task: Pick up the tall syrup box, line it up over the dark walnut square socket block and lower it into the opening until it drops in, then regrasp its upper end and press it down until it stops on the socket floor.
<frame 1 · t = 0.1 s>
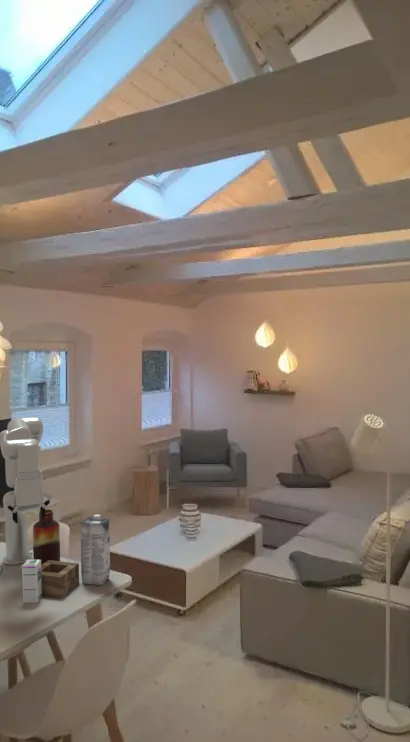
hand: (29, 520, 207), 31 cm above the table, tool pointing down, fingers open, 9 cm apart
vase: (47, 571, 236), on the table
juice carton: (95, 581, 225), on the table
syrup box: (32, 599, 209), on the table
socket block: (54, 587, 219), on the table
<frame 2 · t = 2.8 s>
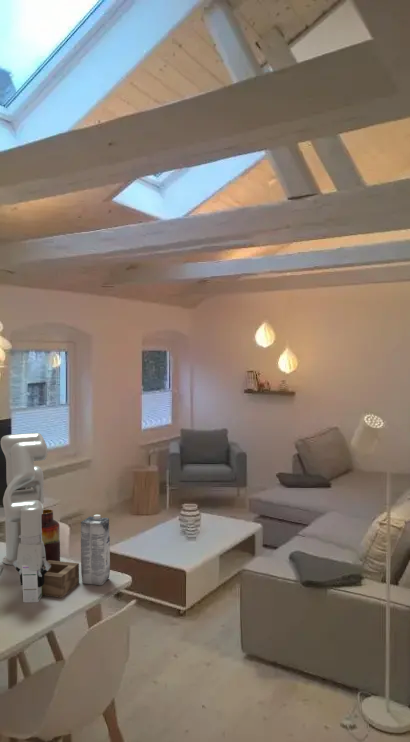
hand: (32, 584, 209), 6 cm above the table, tool pointing down, fingers closed on syrup box, 6 cm apart
syrup box: (32, 599, 209), on the table, touching gripper
everything else where it was.
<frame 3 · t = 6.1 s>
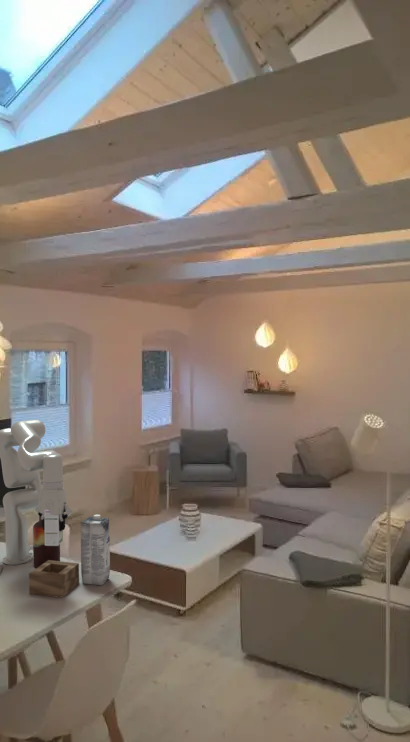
hand: (53, 529, 218), 24 cm above the table, tool pointing down, fingers closed on syrup box, 6 cm apart
syrup box: (53, 544, 218), point 18 cm above the table, touching gripper
everything else where it was.
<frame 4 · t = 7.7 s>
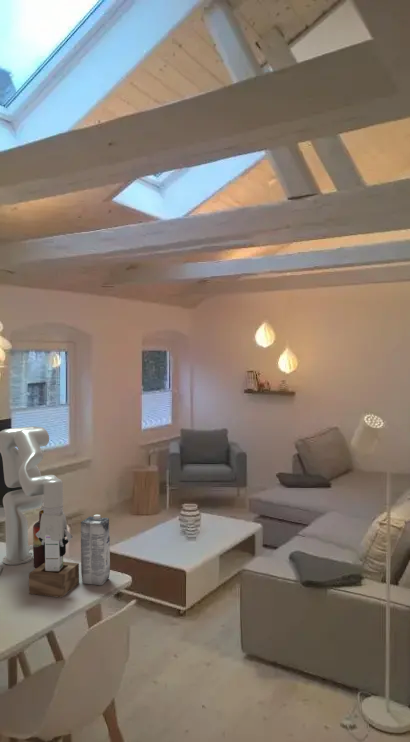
hand: (54, 554, 218), 14 cm above the table, tool pointing down, fingers closed on syrup box, 6 cm apart
syrup box: (54, 569, 218), point 8 cm above the table, touching gripper
everything else where it was.
when the fingers open (9 cm above the table, at t = 9.2 s): syrup box drops 2 cm, resting on socket block.
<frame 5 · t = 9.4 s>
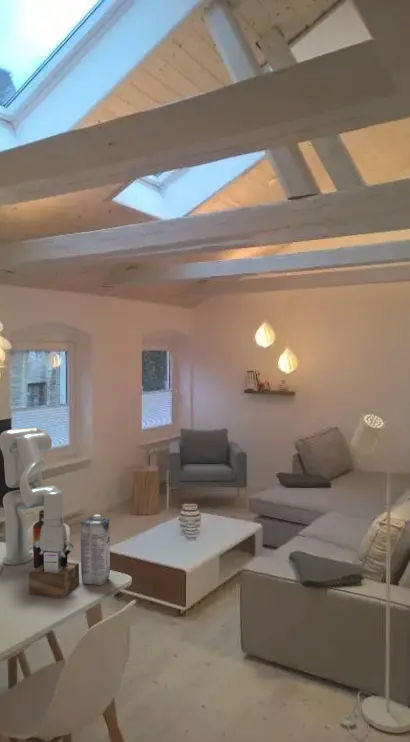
hand: (54, 564, 219), 10 cm above the table, tool pointing down, fingers open, 8 cm apart
syrup box: (54, 585, 219), point 1 cm above the table, touching socket block
everything else where it was.
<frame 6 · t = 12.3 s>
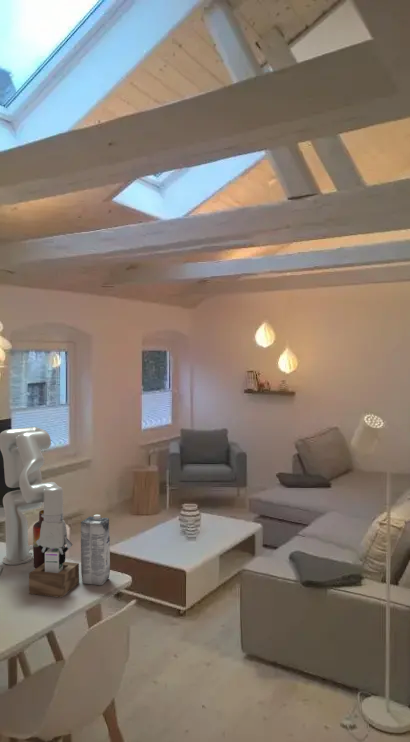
hand: (54, 561, 219), 11 cm above the table, tool pointing down, fingers closed on syrup box, 6 cm apart
syrup box: (54, 585, 219), point 1 cm above the table, touching gripper, socket block
everything else where it was.
when the fingers open (10 cm above the table, at t = 14.5 s): syrup box stays where it is, resting on socket block.
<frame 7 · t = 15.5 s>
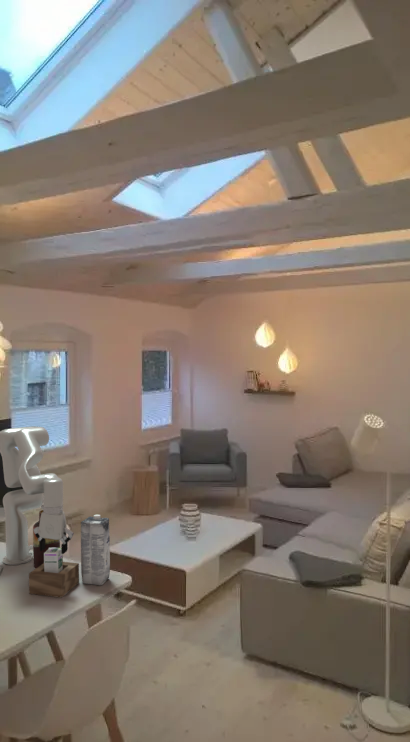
hand: (53, 551, 219), 15 cm above the table, tool pointing down, fingers open, 9 cm apart
syrup box: (54, 586, 219), point 1 cm above the table, touching socket block
everything else where it was.
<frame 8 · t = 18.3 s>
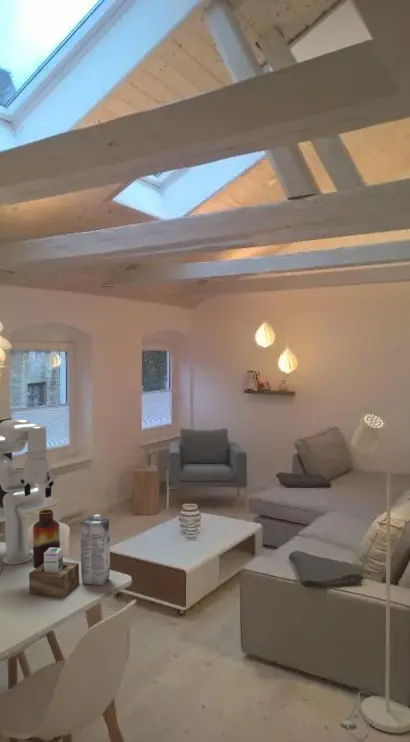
hand: (37, 495, 229), 34 cm above the table, tool pointing down, fingers open, 9 cm apart
nothing on the table moved.
at the end: syrup box 0.2 cm off-centre on the socket block, point 0.8 cm above the socket block's base; syrup box tilted 0°; the gripper is holding nothing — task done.
